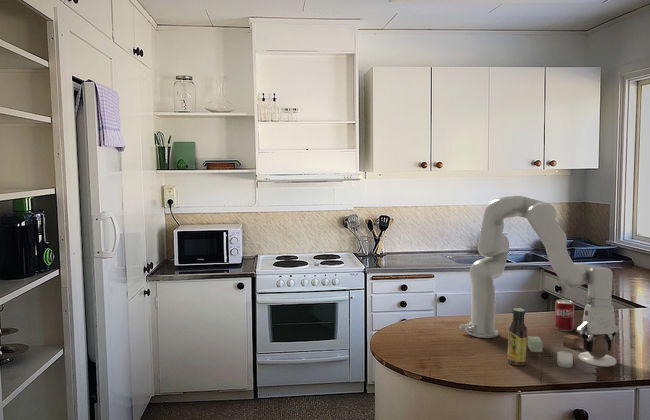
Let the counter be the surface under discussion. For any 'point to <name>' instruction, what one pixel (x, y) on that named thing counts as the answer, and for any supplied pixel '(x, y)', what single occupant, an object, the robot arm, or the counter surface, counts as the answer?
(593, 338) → the vase
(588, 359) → the disc
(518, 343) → the sauce bottle
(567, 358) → the plastic tub
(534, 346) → the sage block
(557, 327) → the soda can
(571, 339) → the walnut block
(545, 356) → the counter surface
